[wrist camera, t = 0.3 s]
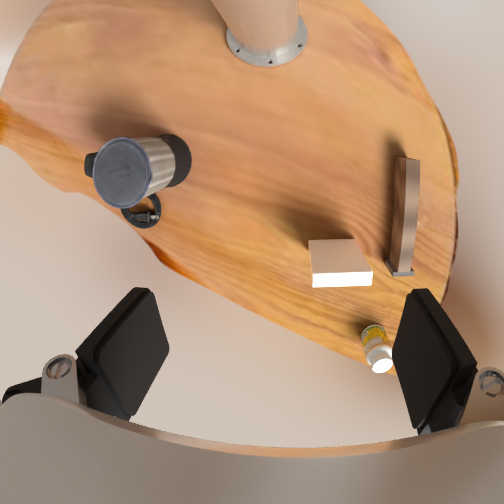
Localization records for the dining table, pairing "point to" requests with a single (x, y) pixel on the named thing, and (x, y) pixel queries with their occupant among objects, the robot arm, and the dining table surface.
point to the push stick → (404, 216)
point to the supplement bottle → (377, 348)
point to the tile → (338, 263)
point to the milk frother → (138, 172)
